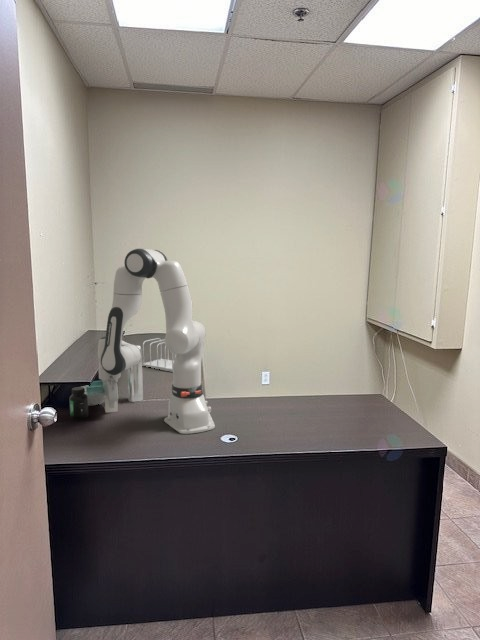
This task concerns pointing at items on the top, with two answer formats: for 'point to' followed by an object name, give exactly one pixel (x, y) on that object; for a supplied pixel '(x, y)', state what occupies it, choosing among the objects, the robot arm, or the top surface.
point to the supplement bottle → (78, 404)
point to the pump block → (107, 405)
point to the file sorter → (159, 363)
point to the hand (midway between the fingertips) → (111, 405)
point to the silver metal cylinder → (135, 381)
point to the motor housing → (95, 393)
